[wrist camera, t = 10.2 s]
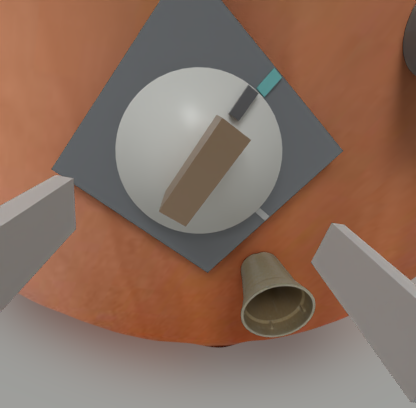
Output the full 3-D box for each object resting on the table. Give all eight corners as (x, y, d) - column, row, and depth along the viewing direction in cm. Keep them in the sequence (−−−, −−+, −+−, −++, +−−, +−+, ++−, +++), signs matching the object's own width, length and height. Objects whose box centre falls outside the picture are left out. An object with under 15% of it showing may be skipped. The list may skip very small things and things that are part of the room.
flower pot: (237, 239, 33) (250, 282, 25) (296, 244, 34) (327, 287, 26) (225, 286, 37) (234, 335, 29) (279, 289, 38) (301, 338, 30)
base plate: (61, 164, 27) (49, 169, 25) (187, -29, 20) (187, -44, 18) (206, 263, 34) (207, 274, 32) (333, 147, 28) (344, 151, 26)
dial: (216, 248, 31) (222, 283, 25) (92, 180, 25) (62, 203, 20) (309, 140, 25) (345, 151, 19) (174, 23, 20) (166, -10, 14)
